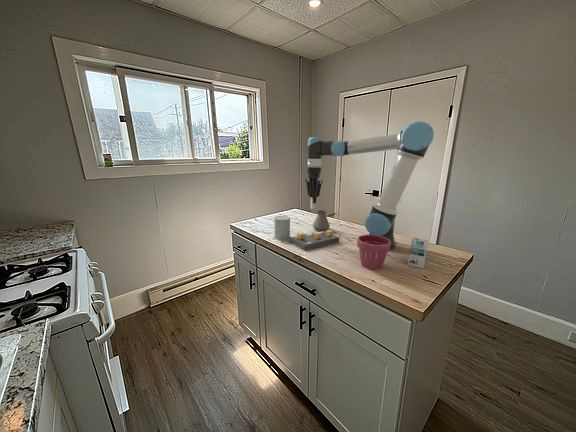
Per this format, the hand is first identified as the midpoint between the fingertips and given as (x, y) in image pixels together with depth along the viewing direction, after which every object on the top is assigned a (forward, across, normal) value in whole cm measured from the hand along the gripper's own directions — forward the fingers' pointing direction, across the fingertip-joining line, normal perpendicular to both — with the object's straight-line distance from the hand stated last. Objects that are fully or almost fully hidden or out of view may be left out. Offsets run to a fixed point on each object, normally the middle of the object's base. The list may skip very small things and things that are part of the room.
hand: (312, 208), depth 137 cm
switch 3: (+16, +7, +7) cm, 19 cm away
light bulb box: (+20, +51, +23) cm, 59 cm away
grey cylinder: (+19, -13, -13) cm, 27 cm away
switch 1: (+16, +2, -10) cm, 19 cm away
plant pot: (+20, +41, +2) cm, 46 cm away
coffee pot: (+19, -7, +17) cm, 27 cm away
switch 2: (+16, +6, -1) cm, 17 cm away
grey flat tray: (+19, +4, -1) cm, 20 cm away
